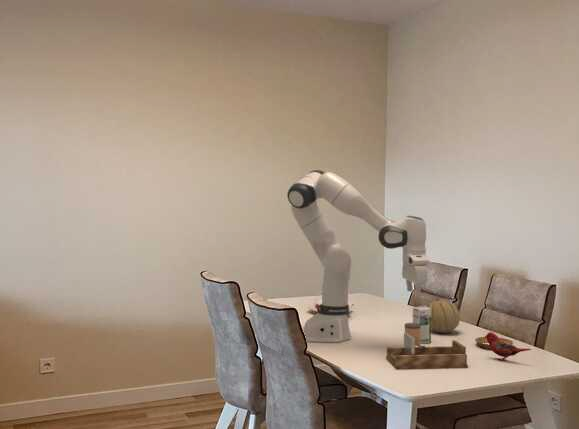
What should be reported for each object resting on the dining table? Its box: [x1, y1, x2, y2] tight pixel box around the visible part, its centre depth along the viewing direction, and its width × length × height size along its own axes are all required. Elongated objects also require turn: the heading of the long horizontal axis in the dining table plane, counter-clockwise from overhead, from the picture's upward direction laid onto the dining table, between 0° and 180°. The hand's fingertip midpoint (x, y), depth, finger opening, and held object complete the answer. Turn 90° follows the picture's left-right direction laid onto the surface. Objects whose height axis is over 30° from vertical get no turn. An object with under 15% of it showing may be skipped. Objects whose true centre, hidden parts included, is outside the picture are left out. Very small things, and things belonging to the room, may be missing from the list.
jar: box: [404, 322, 421, 346], centre depth 246 cm, size 6×6×11 cm
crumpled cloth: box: [307, 294, 355, 313], centre depth 320 cm, size 24×35×9 cm
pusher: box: [403, 332, 426, 355], centre depth 230 cm, size 6×9×9 cm
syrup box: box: [412, 305, 432, 344], centre depth 263 cm, size 6×6×14 cm
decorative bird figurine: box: [484, 331, 532, 362], centre depth 234 cm, size 3×18×10 cm, turn 50°
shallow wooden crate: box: [385, 340, 469, 371], centre depth 230 cm, size 26×14×7 cm, turn 97°
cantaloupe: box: [428, 298, 461, 334], centre depth 281 cm, size 15×15×15 cm
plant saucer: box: [474, 336, 514, 350], centre depth 256 cm, size 15×15×3 cm
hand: (413, 293), depth 245 cm, fingers open, 8 cm apart
